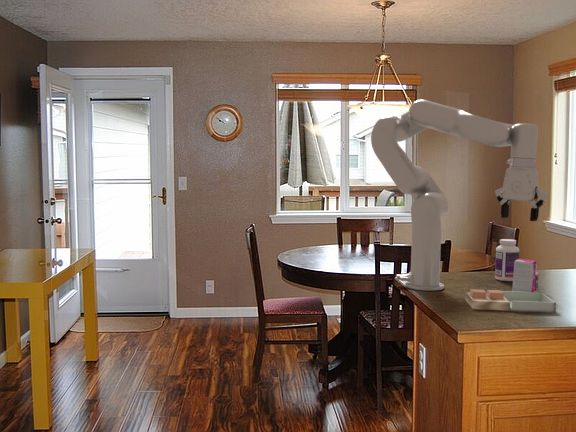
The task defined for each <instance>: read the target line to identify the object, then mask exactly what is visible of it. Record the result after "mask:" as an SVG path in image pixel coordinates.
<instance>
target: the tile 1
mask: <svg viewBox="0 0 576 432" xmlns="http://www.w3.org/2000/svg"><path fill="white" fill-rule="evenodd" d="M469 292H470V296H471V297H472V298H486V293H487V291H486V290H484V289H475V288H473V289H472V288H470V289H469Z"/></svg>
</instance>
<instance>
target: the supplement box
mask: <svg viewBox="0 0 576 432" xmlns="http://www.w3.org/2000/svg"><path fill="white" fill-rule="evenodd" d="M536 265H537V260H531V259H525V258H524V259H523V258H519V259H517V260H515V261H514V274H513V281H512V287H511V288H512V289H511V291H518V292H534V285H535V272H536V271H537V270H536Z"/></svg>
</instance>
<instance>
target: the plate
mask: <svg viewBox="0 0 576 432" xmlns="http://www.w3.org/2000/svg"><path fill="white" fill-rule="evenodd" d="M465 301H466V303H467V304H468V305H469V307H470V308H471V309H472V310H484V311H486V310H488V311H509V312H510V311H511V310H510V302H509V301H508V300H507V299H506V298H505V297H504V299H489V298H488V296H487V292H486V298H472V297H471V296H470V291H465Z"/></svg>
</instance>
